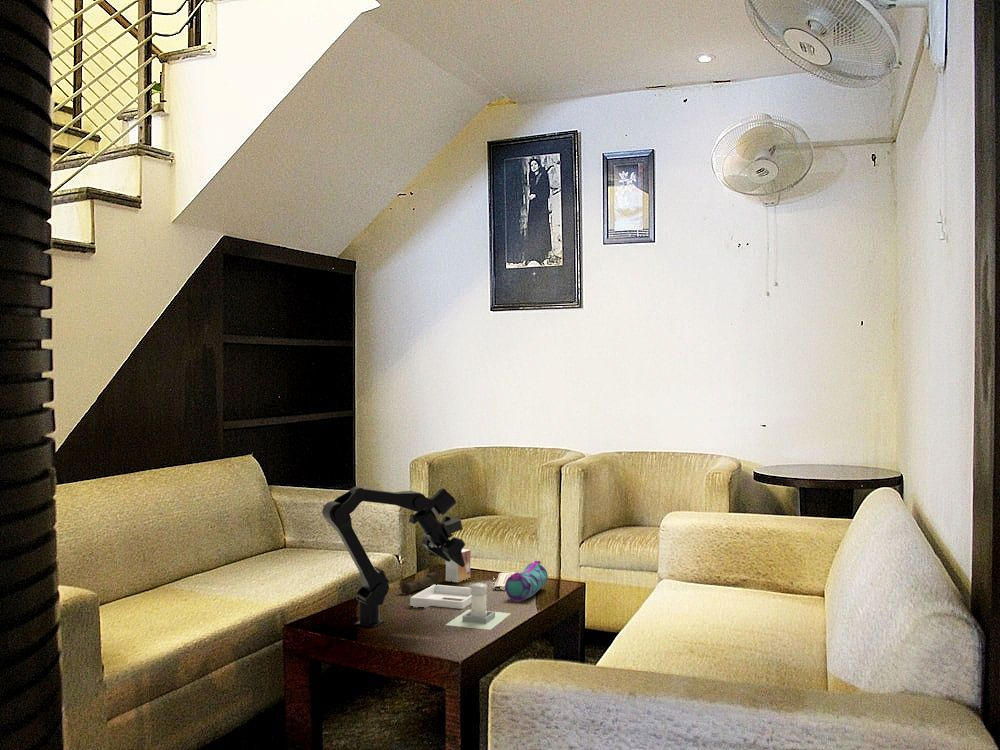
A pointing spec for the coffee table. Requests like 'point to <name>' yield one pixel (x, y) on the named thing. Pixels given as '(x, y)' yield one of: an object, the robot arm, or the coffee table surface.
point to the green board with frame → (478, 620)
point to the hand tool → (420, 583)
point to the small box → (458, 568)
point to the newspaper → (501, 580)
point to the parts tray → (436, 595)
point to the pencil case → (526, 582)
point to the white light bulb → (479, 600)
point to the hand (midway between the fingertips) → (456, 563)
